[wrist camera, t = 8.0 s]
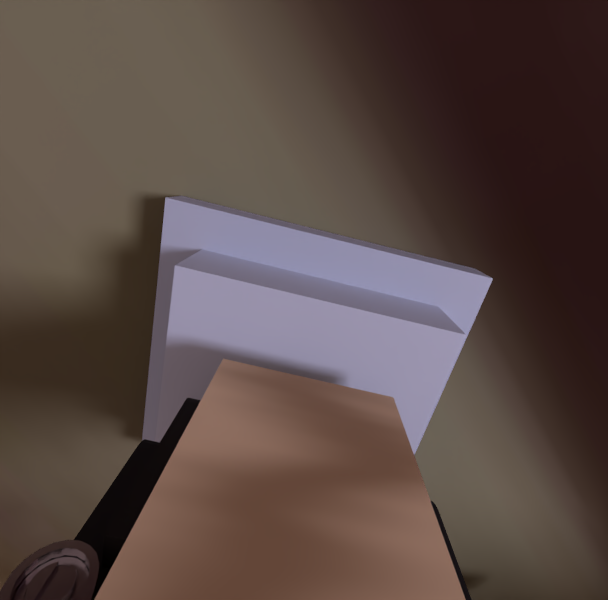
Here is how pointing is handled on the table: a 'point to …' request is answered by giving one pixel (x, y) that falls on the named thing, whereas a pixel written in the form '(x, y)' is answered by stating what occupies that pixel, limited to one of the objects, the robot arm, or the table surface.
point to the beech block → (287, 501)
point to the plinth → (301, 256)
